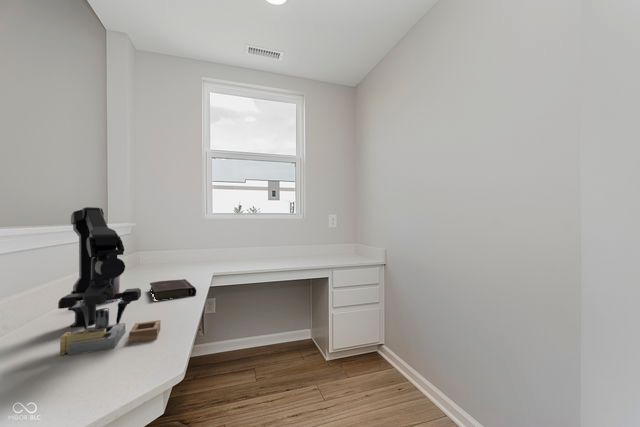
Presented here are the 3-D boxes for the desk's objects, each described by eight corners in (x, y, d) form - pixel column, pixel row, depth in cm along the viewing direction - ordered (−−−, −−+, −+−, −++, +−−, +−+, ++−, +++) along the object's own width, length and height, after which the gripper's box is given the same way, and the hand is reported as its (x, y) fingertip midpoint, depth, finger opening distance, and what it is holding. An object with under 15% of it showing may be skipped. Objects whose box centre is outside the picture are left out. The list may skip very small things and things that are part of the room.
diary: (186, 287, 151) (186, 278, 151) (196, 296, 130) (196, 286, 131) (147, 291, 140) (147, 282, 140) (151, 303, 119) (151, 291, 120)
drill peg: (97, 339, 81) (97, 309, 81) (110, 337, 82) (110, 307, 83) (93, 343, 78) (93, 312, 78) (106, 341, 79) (107, 310, 80)
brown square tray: (135, 332, 85) (135, 323, 85) (160, 329, 88) (160, 320, 88) (129, 343, 78) (129, 332, 78) (156, 338, 81) (156, 328, 81)
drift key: (65, 350, 74) (65, 332, 74) (106, 343, 78) (106, 326, 78) (59, 355, 71) (60, 336, 71) (102, 348, 75) (102, 330, 75)
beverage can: (110, 303, 118) (110, 269, 119) (99, 302, 119) (100, 268, 120) (122, 299, 124) (123, 267, 125) (112, 298, 125) (112, 266, 126)
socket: (85, 337, 82) (86, 328, 82) (125, 332, 86) (125, 322, 86) (68, 355, 71) (68, 344, 71) (114, 347, 75) (114, 337, 75)
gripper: (48, 282, 70) (46, 343, 69) (134, 276, 77) (133, 330, 77) (67, 275, 80) (66, 328, 79) (141, 270, 88) (140, 318, 87)
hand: (102, 326), depth 80 cm, fingers open, 7 cm apart
